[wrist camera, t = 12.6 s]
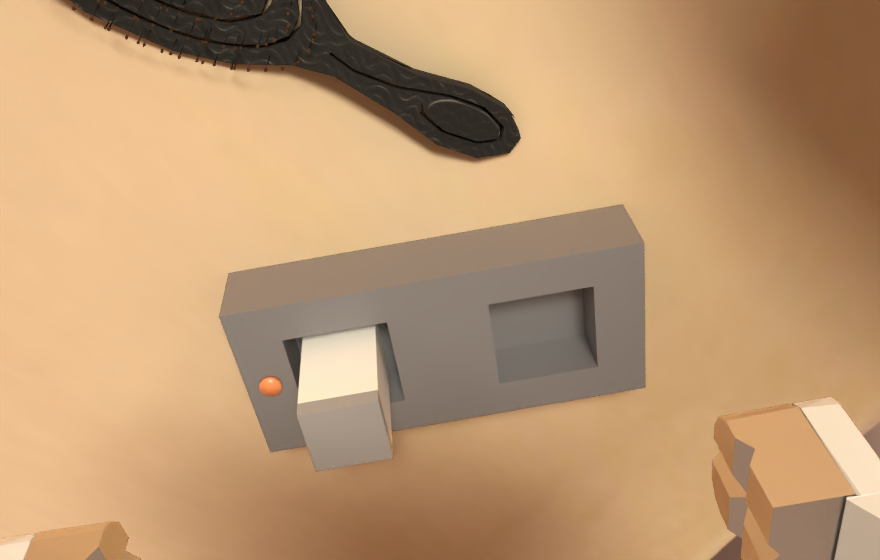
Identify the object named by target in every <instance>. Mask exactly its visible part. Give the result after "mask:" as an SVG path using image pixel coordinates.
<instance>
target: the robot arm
mask: <svg viewBox="0 0 880 560" xmlns="http://www.w3.org/2000/svg"><path fill="white" fill-rule="evenodd" d="M714 439H715V441H716V443H717V445H718V447H719V449H720V453H719V454H718V455H717V456H716V457H715V458H714V459H713V461H712V481H713V487H714V492H715V498H716V501H717V504H718V507H719V510H720V513H721V515H722V517H723V520H724V522H725V524H726V526H727V529H728V530H730V531H731V532H733V533H734V534H736V535H737V536H739V537H741V538H742V550H741V558H742V560H880V458H879V457H878V456H877V454H876V453H875V452H874V451H873V449H872V448H871V446H870V445H869V443H868V442H867V441H866V439H865V438H864V437H863V435H862V434H861V432H860V431H859V430H858V428H857V427H856V426H855V424H854V423H853V421H852V420H851V419H850V417H849V416H848V415H847V413H846V412H845V411H844V409H843V408H842V406H841V405H840V404H839V402H838V401H836V400H835V399H833V398H831V397H826V398H820V399H815V400H809V401H803V402H798V403H793V404H791V405H790V404H785V405H780V406H774V407H769V408H763V409H758V410H752V411H747V412H741V413H736V414H730V415H725V416H719V417H718V418H717V420H716V422H715V427H714ZM128 539H129V537H128V535H127V534H126V532H125V531H124V529H123V527H122V526H121V524H120V523H119V522H105V523H98V524H91V525H84V526H77V527H70V528H63V529H57V530H50V531H43V532H39V533H33V534H26V535H19V536H13V537H6V538H3V539H2V540H1V541H0V560H141V558H139V557H137V556H135V555H133V554H131V553H129V552H127V551H125V550H126V547H127V543H128Z"/></svg>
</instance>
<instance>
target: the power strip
mask: <svg viewBox="0 0 880 560" xmlns="http://www.w3.org/2000/svg"><path fill="white" fill-rule="evenodd" d="M219 318H220V320H221V323H222V326H223V328H224V331H225V333H226V336H227V339H228V341H229V344H230V347H231V349H232V352H233V355H234V357H235V360H236V363H237V365H238V368H239V370H240V373H241V376H242V378H243V381H244V384H245V386H246V389H247V392H248V394H249V397H250V399H251V402H252V405H253V407H254V410H255V413H256V415H257V418H258V421H259V423H260V426H261V429H262V431H263V434H264V436H265V439H266V442H267V444H268V447H269V450H270V452H275V451H281V450H287V449H293V448H298V447H304V446H307V444H306V442H305V439H304V436H303V433H302V430H301V427H300V424H299V421H298V418H297V403H298V390H299V377H300V364H301V351H302V338H303V337H306V336H312V335H317V334H323V333H329V332H335V331H340V330H346V329H352V328H358V327H363V326H369V325H375V324H379V325H380V330H381V334H382V338H383V342H384V346H385V350H386V354H387V360H388V377H389V394H390V412H391V429H392V431H397V430H403V429H408V428H414V427H420V426H426V425H432V424H437V423H443V422H449V421H455V420H461V419H466V418H472V417H478V416H484V415H490V414H495V413H501V412H507V411H513V410H519V409H524V408H530V407H536V406H542V405H548V404H553V403H559V402H565V401H571V400H577V399H582V398H588V397H594V396H600V395H606V394H611V393H617V392H623V391H629V390H635V389H640V388H645V273H644V241H643V239H642V238H641V236H640V234H639V232H638V230H637V229H636V227H635V225H634V223H633V222H632V220H631V218H630V216H629V215H628V213H627V211H626V209H625V207H624V206H623V205H617V206H611V207H606V208H600V209H594V210H588V211H583V212H577V213H571V214H565V215H560V216H554V217H548V218H543V219H537V220H531V221H525V222H520V223H514V224H508V225H502V226H497V227H491V228H485V229H480V230H474V231H468V232H462V233H457V234H451V235H445V236H439V237H434V238H428V239H422V240H417V241H411V242H405V243H399V244H394V245H388V246H382V247H376V248H371V249H365V250H359V251H354V252H348V253H342V254H336V255H331V256H325V257H319V258H313V259H308V260H302V261H296V262H291V263H285V264H279V265H273V266H268V267H262V268H256V269H250V270H245V271H239V272H233V273H229V274H228V278H227V283H226V287H225V292H224V296H223V301H222V306H221V310H220V315H219Z"/></svg>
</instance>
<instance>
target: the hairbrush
mask: <svg viewBox="0 0 880 560" xmlns="http://www.w3.org/2000/svg"><path fill="white" fill-rule="evenodd" d="M70 1H72V2H73V3H74V4H76V5H77V6H78V7H80V8H81V9H82V10H84V11H85V12H87V13H89V14H91V15H93V16H96V17H98V18H100V19H103V20H105V21H107V22H108V23H107V25H106V26H105V27H104V29H107V30H108V31H110V30H111V28H110V27H111V25H112V24H114V25H116V26H118V27H121V28H123V29H125V30H127V31H130V32H132V33H134V34H136V35H139V36H141V37H143V38H145V39H146V40H147V39H148V40H150V41H152V42H154V43H157V44H159V45H161V46H163V47H166V48H168V49H170V50H173V51H177V52H181V53H186V54H191V55H195V56H198V57H199V56H200V57H204V58H209V59H213V60H215V62H214V63H213V66H216V64H215V63H216V60H218V61H223V62H227V63H232V66H231V67H230V69H231V70H232V69H233V70H235V69H236V68H235V66H236V64H257V65H294V66H297V67H301V68H305V69H308V70H312V71H316V72H319V73H323V74H327V75H330V76H334V77H336V78H338V79H339V80H341V81H343V82H344V83H346V84H348V85H349V86H351V87H353V88H354V89H356V90H358V91H359V92H361V93H363V94H364V95H366V96H368V97H369V98H371V99H373V100H374V101H376V102H378V103H379V104H381V105H383V106H384V107H386V108H388V109H389V110H391V111H393V112H394V113H396V114H397V115H398V116H400V117H401V118H402V119H404V120H405V121H406V122H408V123H409V124H410V125H412V126H413V127H414V128H416V129H417V130H418V131H420V132H421V133H422V134H424V135H425V136H426V137H428V138H429V139H430V140H431V141H433V142H434V143H435V144H437V145H440V146H443V147H446V148H449V149H452V150H455V151H458V152H461V153H464V154H467V155H470V156H473V157H476V158H480V157H486V156H492V155H498V154H504V153H510V152H511V150H512V149H513V148H514V146H515V145H516V144H517V143H518V141H519V140H520V139H521V137H520V133H519V130H518V127H517V125H516V123H515V121H514V119H513V117H512V115H513V114H512V113H511V112H510V110H509V109H508V108H507V107H506V106H505V104H504V103H502V102H501V101H499V100H497V99H496V98H494V97H492V96H491V95H489V94H487V93H485V92H484V91H482V90H480V89H478V88H476V87H474V86H472V85H470V84H468V83H464V82H460V81H457V80H453V79H450V78H446V77H442V76H439V75H435V74H431V73H428V72H424V71H420V70H417V69H413V68H411V67H409V66H407V65H405V64H403V63H401V62H399V61H397V60H395V59H393V58H391V57H389V56H387V55H385V54H383V53H381V52H379V51H377V50H375V49H373V48H371V47H369V46H367V45H365V44H363V43H361V42H359V41H357V40H355V39H354V38H352V37H351V36H350V35H349V34H348V32H347V31H346V29H345V28H344V27H343V25H342V24H341V22H340V21H339V19H338V18H337V16H336V15H335V14H334V12H333V11H332V9H331V8H330V6H329V5H328V4H327V2H326V0H302V13H301V25H300V27H298V28H297V29H295V30H294V31H292V30H293V28H294V26H295V24H296V22H297V20H298V17H299V14H300V13H299V5H298V0H272V3H271V4H270V6H269V7H268V9H267V10H266V11H265V12H264V14H263V15H262V14H261V13H262V10H263V8H264V6H265V4H266V2H267V0H161V2H160V0H159V1H158V0H70ZM162 1H164V2H166V3H168V4H169V5H168V4H165V3H164V2H162ZM170 4H171V5H175V6H178V7H181V9H182V8H184V9H188V10H191V11H194V12H198V13H201V14H204V15H207V16H211V17H214V19H212V18H208V17H203V16H202V15H201V16H199V15H194V14H191V13H189V12H186V11H183V10H181V9H178V8H176V7H173V6H170ZM76 5H75V6H76ZM118 5H119V6H118ZM75 6H74V7H73V8H72V10H73V11H74V10H75V9H76V8H75ZM120 6H121V7H120ZM122 7H123V8H122ZM124 8H125V9H124ZM126 9H127V10H126ZM128 10H129V11H128ZM130 10H131V11H130ZM132 11H133V12H132ZM134 12H135V13H137V14H139V15H141V16H144V17H146V18H148V19H150V20H152V21H154V23H153V22H151V21H150V20H149V21H148V20H146V19H145V18H143V17H141V16H139V15H137V14H135V13H134ZM255 14H260V15H256V16H253V17H248V18H244V19H239V20H234V21H230V22H227V21H222V20H223V19H229V18H236V17H242V16H249V15H255ZM216 18H217V19H221V20H217V19H216ZM90 20H91V21H92V20H93V17H91V18H90ZM155 22H157V23H159V24H161V25H163V26H161V25H159V24H156V23H155ZM109 23H111V24H110V26H109V27H108V28H107V26H108V24H109ZM164 26H165V27H164ZM166 27H168V28H166ZM169 28H170V29H169ZM171 29H173V30H171ZM174 30H177V31H181V32H185V33H188V34H192V35H196V36H200V37H204V39H199V38H196V37H193V36H189V35H186V34H182V33H179V32H176V31H174ZM141 37H140V39H141ZM205 38H207V39H212V40H215V41H219V42H214V41H206V40H205ZM125 39H126V40H127V39H128V35H126V36H125ZM140 39H139V41H140ZM279 39H280V40H279ZM276 40H279V41H277V42H275V41H276ZM139 41H137V44H140V42H139ZM222 42H223V43H222ZM271 42H274V43H271ZM229 43H236V44H229ZM237 43H238V44H241V45H237ZM243 44H255V45H246V46H243ZM256 45H257V46H256ZM259 45H263V46H259ZM144 46H146V43H143V47H144ZM249 46H256V47H249ZM331 52H332V53H331ZM161 53H163V49H161ZM181 53H180V55H181ZM169 55H172V52H170V53H169ZM180 55H179V56H178V59H180V58H181V56H180ZM335 55H336V56H335ZM195 62H198V58H197V59H196V61H195ZM201 63H202V64H204V61H202V62H201ZM233 64H235V66H234V67H233ZM266 68H267V67H266ZM266 68H265V70H264V71H265V72H266V71H267V69H266ZM281 70H284V68H283V67H281ZM247 71H248V72H249V71H250V69H249V68H248V69H247ZM474 103H475V104H474ZM476 104H477V105H476ZM421 105H422V108H423V110H424V113H425V114H426V115H427V116H428V117H429V118H430V119H431V120H433V121H434V122H435V123H436V124H437V125H438V126H437V125H435V124H434V123H433V122H432V121H431V120H430V119H429V118H428V117H427V116H425V115H424V114H423V113H422V112H421V111H420V109H421ZM478 105H480V106H483V107H485V108H486V109H487V110H488V111H489V112H488V111H487V110H485V109H483V108H481V107H480V106H478ZM511 114H512V115H511ZM492 115H493V116H494V117H495V118H496V119H497V120H498V121H499V122H500V127H499V125H498V122H496V121H495V119H494V118H493V116H492ZM499 131H500V136H499ZM481 141H482V142H481Z"/></svg>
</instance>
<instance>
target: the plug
mask: <svg viewBox="0 0 880 560" xmlns="http://www.w3.org/2000/svg"><path fill="white" fill-rule="evenodd" d="M297 418H298V421H299V424H300V427H301V430H302V433H303V436H304V439H305V442H306V444H307V447H308V450H309V453H310V456H311V459H312V462H313V465H314V468H315V471H316V472H317V471H323V470H329V469H334V468H340V467H346V466H352V465H358V464H363V463H369V462H375V461H381V460H387V459H392V458H393V446H392V429H391V412H390V394H389V377H388V360H387V354H386V350H385V346H384V342H383V338H382V334H381V330H380V325H379V324H375V325H369V326H363V327H358V328H352V329H346V330H340V331H335V332H329V333H323V334H317V335H312V336H306V337H303V338H302V351H301V364H300V377H299V390H298V403H297Z"/></svg>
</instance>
